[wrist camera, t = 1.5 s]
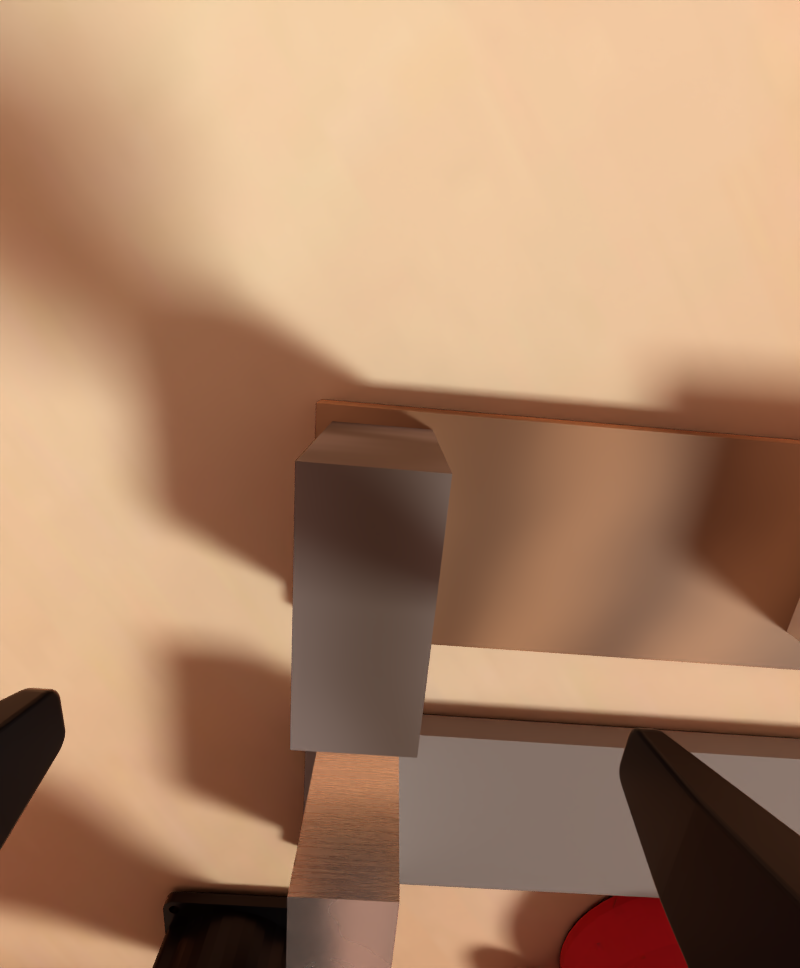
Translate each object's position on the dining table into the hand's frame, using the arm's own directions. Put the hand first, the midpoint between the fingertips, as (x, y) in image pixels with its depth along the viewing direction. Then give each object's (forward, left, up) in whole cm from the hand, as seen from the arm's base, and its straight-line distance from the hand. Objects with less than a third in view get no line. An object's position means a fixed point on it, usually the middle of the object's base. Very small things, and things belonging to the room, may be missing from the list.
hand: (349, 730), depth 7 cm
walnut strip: (+9, 0, -9) cm, 13 cm away
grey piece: (+9, -12, -9) cm, 17 cm away
